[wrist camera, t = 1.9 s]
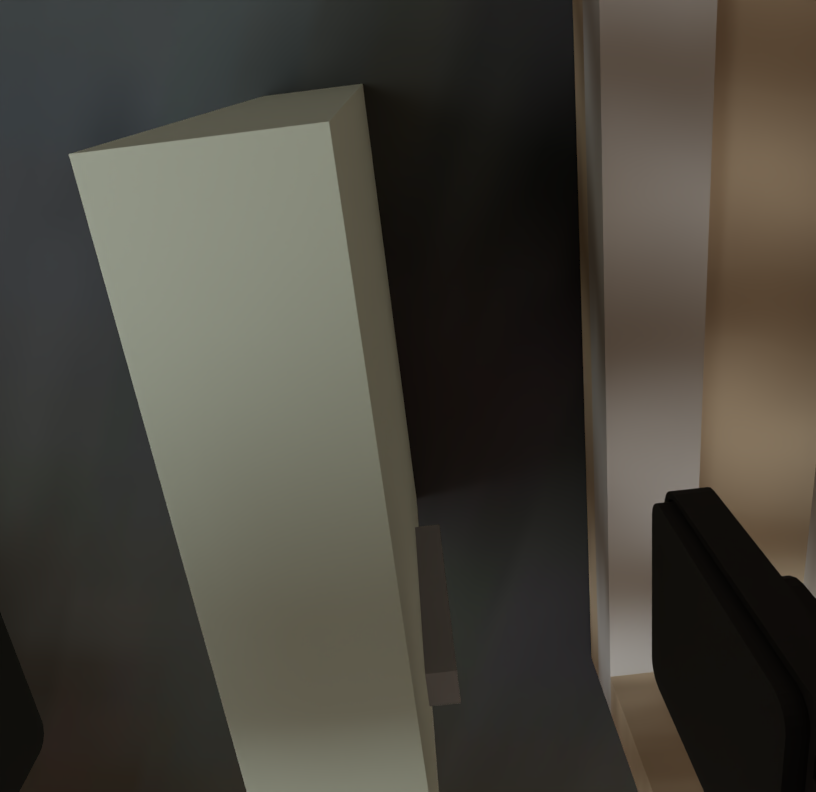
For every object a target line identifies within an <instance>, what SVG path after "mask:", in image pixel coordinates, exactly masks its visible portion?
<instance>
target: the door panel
mask: <svg viewBox="0 0 816 792" xmlns="http://www.w3.org/2000/svg"><path fill="white" fill-rule="evenodd" d="M69 157H70V160H71V164H72V168H73V171H74V175H75V178H76V182H77V185H78V189H79V193H80V196H81V200H82V203H83V207H84V211H85V214H86V218H87V221H88V225H89V228H90V232H91V236H92V239H93V243H94V246H95V250H96V253H97V257H98V261H99V264H100V268H101V271H102V275H103V279H104V282H105V286H106V289H107V293H108V296H109V300H110V304H111V307H112V311H113V314H114V318H115V322H116V325H117V329H118V332H119V336H120V339H121V343H122V347H123V350H124V354H125V357H126V361H127V364H128V368H129V372H130V375H131V379H132V382H133V386H134V390H135V393H136V397H137V400H138V404H139V407H140V411H141V415H142V418H143V422H144V425H145V429H146V433H147V436H148V440H149V443H150V447H151V450H152V454H153V458H154V461H155V465H156V468H157V472H158V475H159V479H160V483H161V486H162V490H163V493H164V497H165V501H166V504H167V508H168V511H169V515H170V518H171V522H172V526H173V529H174V533H175V536H176V540H177V544H178V547H179V551H180V554H181V558H182V561H183V565H184V569H185V572H186V576H187V579H188V583H189V586H190V590H191V594H192V597H193V601H194V604H195V608H196V612H197V615H198V619H199V622H200V626H201V629H202V633H203V637H204V640H205V644H206V647H207V651H208V655H209V658H210V662H211V665H212V669H213V672H214V676H215V680H216V683H217V687H218V690H219V694H220V697H221V701H222V705H223V708H224V712H225V715H226V719H227V723H228V726H229V730H230V733H231V737H232V740H233V744H234V748H235V751H236V755H237V758H238V762H239V766H240V769H241V773H242V776H243V780H244V783H245V787H246V791H247V792H439V790H438V776H437V763H436V750H435V737H434V723H433V710H432V706H437V705H446V704H455V703H461V701H460V693H459V684H458V676H457V667H456V659H455V651H454V642H453V634H452V626H451V618H450V609H449V601H448V593H447V584H446V576H445V568H444V559H443V551H442V543H441V534H440V526H439V525H430V526H422V527H419V525H418V511H417V498H416V491H415V483H414V475H413V468H412V460H411V452H410V445H409V437H408V429H407V421H406V414H405V406H404V398H403V391H402V383H401V375H400V368H399V360H398V352H397V344H396V337H395V329H394V321H393V314H392V306H391V298H390V291H389V283H388V275H387V267H386V260H385V252H384V244H383V237H382V229H381V221H380V214H379V206H378V198H377V190H376V183H375V175H374V167H373V160H372V152H371V144H370V136H369V129H368V121H367V113H366V106H365V98H364V90H363V84H356V85H348V86H340V87H332V88H325V89H317V90H309V91H301V92H293V93H285V94H277V95H269V96H262V97H259V98H256V99H252V100H249V101H245V102H242V103H239V104H235V105H232V106H229V107H225V108H222V109H219V110H215V111H212V112H209V113H205V114H202V115H198V116H195V117H192V118H188V119H185V120H182V121H178V122H175V123H172V124H168V125H165V126H162V127H158V128H155V129H151V130H148V131H145V132H141V133H138V134H135V135H131V136H128V137H125V138H121V139H118V140H115V141H111V142H108V143H105V144H101V145H98V146H94V147H91V148H88V149H84V150H81V151H78V152H74V153H71V154H69Z"/></svg>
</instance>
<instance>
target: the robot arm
mask: <svg viewBox="0 0 816 792" xmlns="http://www.w3.org/2000/svg"><path fill="white" fill-rule="evenodd" d="M652 665H653V671H654V676H655V680H656V683H657V686H658V688H659V691H660V693H661V695H662V697H663V700H664V702H665V704H666V707H667V709H668V711H669V713H670V716H671V718H672V720H673V722H674V725H675V727H676V729H677V732H678V734H679V736H680V738H681V741H682V743H683V745H684V747H685V750H686V752H687V754H688V757H689V759H690V761H691V763H692V766H693V768H694V770H695V773H696V775H697V777H698V779H699V782H700V784H701V786H702V788H703V791H704V792H816V598H815V597H814V596H813V595H812V593H811V592H810V591H809V590H808V589H807V587H806V586H805V585H804V584H803V583H802V582H801V581H800V580H799V579H798V578H796V577H793V576H790V575H788V576H781V575H780V573H779V572H778V571H777V570H776V568H775V567H774V566H773V565H772V563H771V562H770V561H769V559H768V558H767V557H766V556H765V554H764V553H763V552H762V551H761V549H760V548H759V547H758V546H757V544H756V543H755V542H754V540H753V539H752V538H751V537H750V535H749V534H748V533H747V532H746V530H745V529H744V528H743V527H742V525H741V524H740V523H739V521H738V520H737V519H736V518H735V516H734V515H733V514H732V513H731V511H730V510H729V509H728V508H727V506H726V505H725V504H724V502H723V501H722V500H721V499H720V497H719V496H718V495H717V494H716V492H715V491H714V490H713V489H712V488H711V487H703V488H694V489H685V490H676V491H668V492H667V493H666V496H665V501H664V502H663V503H655V504H654V505H653V508H652ZM43 737H44V730H43V724H42V720H41V718H40V715H39V713H38V710H37V707H36V705H35V702H34V700H33V697H32V694H31V692H30V689H29V686H28V684H27V681H26V679H25V676H24V673H23V671H22V668H21V666H20V663H19V660H18V658H17V655H16V653H15V650H14V647H13V645H12V642H11V639H10V637H9V634H8V632H7V629H6V626H5V624H4V621H3V619H2V616H1V613H0V792H19V791H20V789H21V787H22V785H23V783H24V781H25V779H26V778H27V776H28V774H29V772H30V770H31V768H32V766H33V764H34V762H35V760H36V759H37V757H38V755H39V753H40V750H41V748H42V744H43Z"/></svg>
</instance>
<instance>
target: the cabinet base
mask: <svg viewBox="0 0 816 792" xmlns="http://www.w3.org/2000/svg"><path fill="white" fill-rule="evenodd" d="M573 31H574V66H575V101H576V136H577V171H578V206H579V241H580V276H581V310H582V345H583V380H584V415H585V450H586V485H587V520H588V555H589V589H590V624H591V658H592V660H593V663H594V666H595V669H596V672H597V675H598V678H599V680H600V683H601V686H602V689H603V692H604V695H605V698H606V700H607V703H608V706H609V709H610V712H611V715H612V718H613V720H614V723H615V726H616V729H617V732H618V735H619V738H620V740H621V743H622V746H623V749H624V752H625V755H626V758H627V761H628V763H629V766H630V769H631V772H632V775H633V778H634V781H635V783H636V786H637V789H638V792H704V791H703V788H702V786H701V784H700V782H699V779H698V777H697V775H696V773H695V770H694V768H693V766H692V763H691V761H690V759H689V757H688V754H687V752H686V750H685V747H684V745H683V743H682V741H681V738H680V736H679V734H678V732H677V729H676V727H675V725H674V722H673V720H672V718H671V716H670V713H669V711H668V709H667V707H666V704H665V702H664V700H663V697H662V695H661V693H660V691H659V688H658V686H657V683H656V680H655V676H654V671H653V665H652V508H653V505H654V504H655V503H663V502H664V501H665V496H666V493H667V492H668V491H676V490H685V489H694V488H703V487H711V488H712V489H713V490H714V491H715V492H716V494H717V495H718V496H719V497H720V499H721V500H722V501H723V502H724V504H725V505H726V506H727V508H728V509H729V510H730V511H731V513H732V514H733V515H734V516H735V518H736V519H737V520H738V521H739V523H740V524H741V525H742V527H743V528H744V529H745V530H746V532H747V533H748V534H749V535H750V537H751V538H752V539H753V540H754V542H755V543H756V544H757V546H758V547H759V548H760V549H761V551H762V552H763V553H764V554H765V556H766V557H767V558H768V559H769V561H770V562H771V563H772V565H773V566H774V567H775V568H776V570H777V571H778V572H779V573H780V575H781V576H788V575H790V576H793V577H796V578H798V579H799V580H800V581H801V582H802V583H803V584H804V585H805V586H806V587H807V589H808V590H809V591H810V592H811V593H812V595H813V596H814V597H815V598H816V0H573Z"/></svg>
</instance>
